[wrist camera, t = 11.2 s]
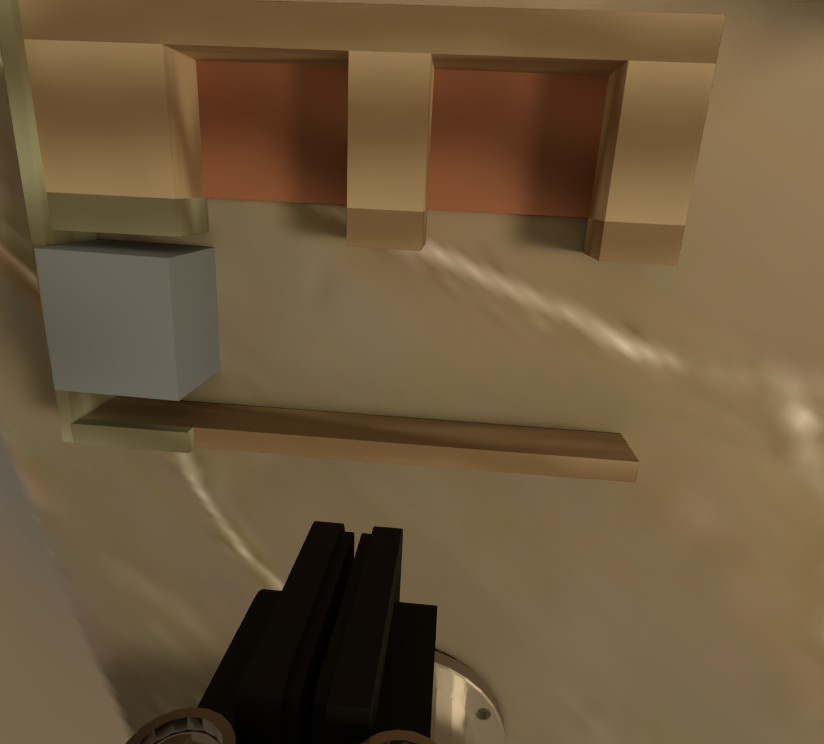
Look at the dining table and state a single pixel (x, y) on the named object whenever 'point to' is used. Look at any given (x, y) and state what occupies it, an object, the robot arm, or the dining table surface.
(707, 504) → the dining table surface
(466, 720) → the robot arm
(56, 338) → the block
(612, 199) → the channel
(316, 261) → the dining table surface
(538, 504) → the dining table surface
